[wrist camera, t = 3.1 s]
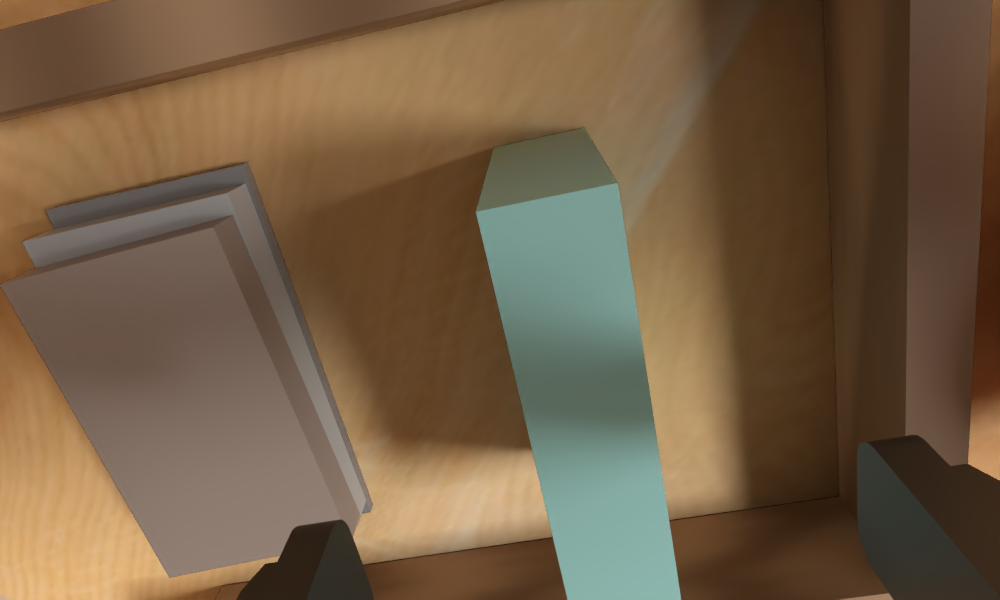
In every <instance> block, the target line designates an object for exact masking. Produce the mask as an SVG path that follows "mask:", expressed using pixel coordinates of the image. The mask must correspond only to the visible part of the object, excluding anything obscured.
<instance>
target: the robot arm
mask: <svg viewBox="0 0 1000 600" xmlns="http://www.w3.org/2000/svg"><path fill="white" fill-rule="evenodd" d="M857 515H858V530H859V535H860V539H861V543H862V546H863V549H864V552H865V554H866V556H867V559H868V561H869V563H870V565H871V566H872V568H873V570H874V571H875V573H876V574H877V576H878V577H879V579H880V580H881V582H882V583H883V585H884V586H885V588H886V589H887V591H888V592H889V594H890V595H891V597H892V599H893V600H1000V481H999V480H997V479H995V478H993V477H991V476H990V475H988V474H986V473H984V472H982V471H980V470H978V469H976V468H974V467H972V466H970V465H968V464H961V465H955V466H950V465H949V464H948V463H947V462H946V461H945V460H944V459H943V458H942V457H941V456H940V455H939V454H938V453H937V452H936V451H935V450H934V449H933V448H932V447H931V446H930V445H929V444H928V443H927V442H926V441H925V440H924V439H923V438H922V437H920V436H918V435H907V436H901V437H894V438H888V439H881V440H874V441H868V442H862V443H861V444H860V445H859V447H858V452H857ZM236 600H374V598H373V593H372V589H371V586H370V583H369V580H368V578H367V575H366V572H365V570H364V567H363V564H362V561H361V559H360V556H359V553H358V550H357V548H356V545H355V542H354V540H353V537H352V534H351V531H350V529H349V527H348V525H347V523H346V522H345V521H344V520H341V519H340V520H333V521H327V522H320V523H313V524H307V525H300V526H296V527H295V528H294V529H293V530H292V532H291V534H290V536H289V538H288V540H287V542H286V544H285V547H284V549H283V551H282V553H281V555H280V558H279V560H278V562H275V563H268V564H265V565H264V566H263V567H262V568H261V569H260V570H259V572H258V573H257V574H256V575H255V576H254V577H253V578H252V579H251V580H250V581H249V582H248V584H247V585H246V586H245V587H244V588H243V589H242V590H241V591H240V593H239V595H238V597H237V599H236Z"/></svg>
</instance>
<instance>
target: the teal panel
mask: <svg viewBox="0 0 1000 600" xmlns="http://www.w3.org/2000/svg"><path fill="white" fill-rule="evenodd" d="M476 215H477V219H478V223H479V228H480V232H481V236H482V240H483V244H484V249H485V253H486V257H487V261H488V266H489V270H490V274H491V278H492V283H493V287H494V291H495V295H496V299H497V304H498V308H499V312H500V316H501V321H502V325H503V329H504V333H505V337H506V342H507V346H508V350H509V354H510V359H511V363H512V367H513V371H514V376H515V380H516V384H517V388H518V392H519V397H520V401H521V405H522V409H523V414H524V418H525V422H526V426H527V430H528V435H529V439H530V443H531V447H532V452H533V456H534V460H535V464H536V468H537V473H538V477H539V481H540V485H541V490H542V494H543V498H544V502H545V507H546V511H547V515H548V519H549V523H550V528H551V532H552V536H553V540H554V545H555V549H556V553H557V557H558V561H559V566H560V570H561V574H562V578H563V583H564V587H565V591H566V595H567V600H681V595H680V588H679V582H678V575H677V568H676V562H675V555H674V549H673V542H672V536H671V529H670V523H669V516H668V509H667V503H666V496H665V490H664V483H663V477H662V470H661V464H660V457H659V450H658V444H657V437H656V431H655V424H654V418H653V411H652V405H651V398H650V391H649V385H648V378H647V372H646V365H645V359H644V352H643V346H642V339H641V332H640V326H639V319H638V313H637V306H636V300H635V293H634V286H633V280H632V273H631V267H630V260H629V254H628V247H627V241H626V234H625V227H624V221H623V214H622V208H621V201H620V195H619V188H618V183H617V181H616V179H615V178H614V176H613V174H612V173H611V171H610V169H609V168H608V166H607V164H606V163H605V161H604V159H603V158H602V156H601V154H600V153H599V151H598V149H597V148H596V146H595V144H594V143H593V141H592V139H591V138H590V136H589V134H588V133H587V131H586V129H585V128H581V129H576V130H571V131H567V132H562V133H557V134H553V135H548V136H543V137H539V138H534V139H529V140H525V141H520V142H516V143H511V144H506V145H502V146H497V147H494V148H493V152H492V155H491V159H490V163H489V166H488V170H487V173H486V177H485V181H484V184H483V188H482V191H481V195H480V199H479V202H478V206H477V209H476Z"/></svg>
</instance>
